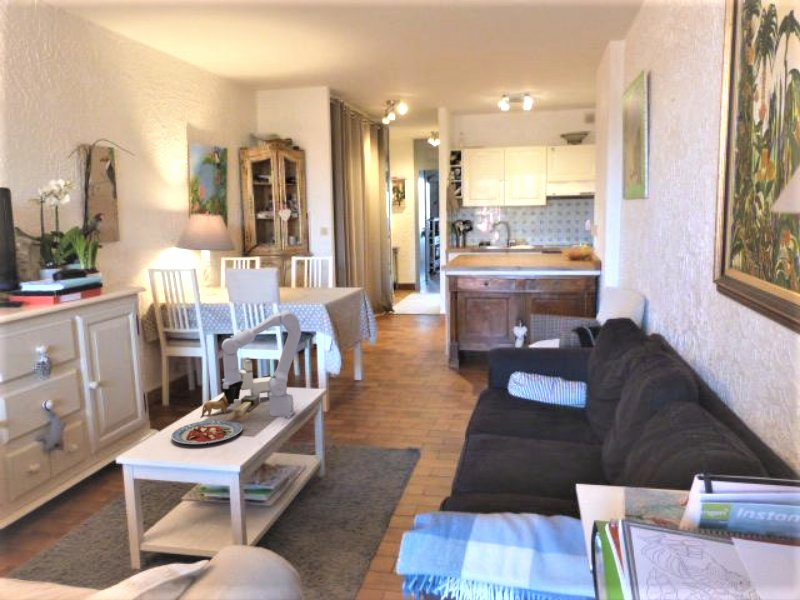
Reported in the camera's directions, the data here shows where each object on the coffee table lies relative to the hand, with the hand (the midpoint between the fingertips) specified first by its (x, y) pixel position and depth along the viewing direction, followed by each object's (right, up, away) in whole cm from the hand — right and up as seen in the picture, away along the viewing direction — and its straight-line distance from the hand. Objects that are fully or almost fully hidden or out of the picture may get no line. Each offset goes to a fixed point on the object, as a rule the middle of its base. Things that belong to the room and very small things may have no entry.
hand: (233, 401), depth 250 cm
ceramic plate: (-6, -11, -15) cm, 19 cm away
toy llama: (+5, -5, +28) cm, 28 cm away
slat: (+1, -6, +11) cm, 13 cm away
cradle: (+1, -7, +11) cm, 13 cm away
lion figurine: (-9, -8, +10) cm, 16 cm away
